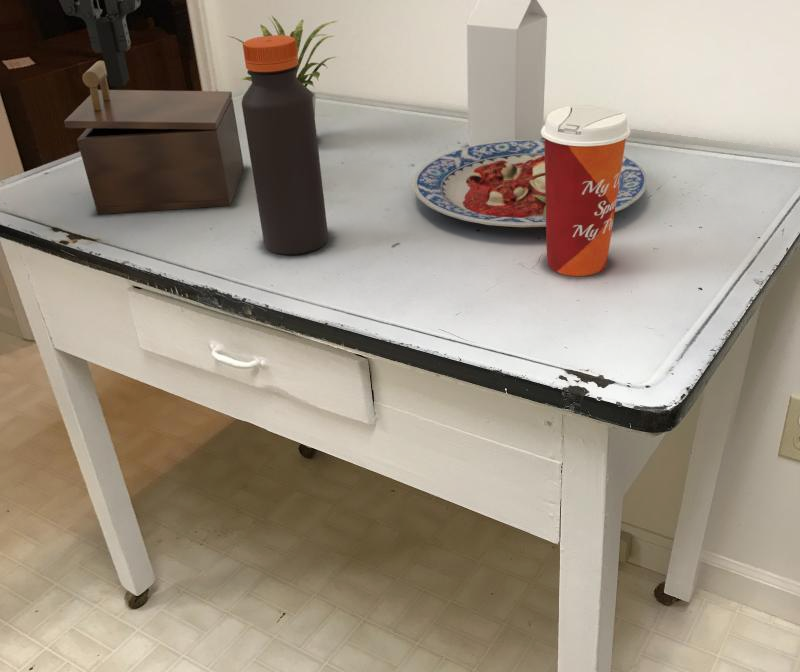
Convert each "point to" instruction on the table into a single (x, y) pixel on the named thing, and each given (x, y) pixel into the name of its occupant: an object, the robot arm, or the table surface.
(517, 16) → the milk carton
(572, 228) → the paper cup
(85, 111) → the lid
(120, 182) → the chest
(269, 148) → the bottle
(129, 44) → the robot arm
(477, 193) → the ceramic plate
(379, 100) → the table surface
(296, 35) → the house plant
